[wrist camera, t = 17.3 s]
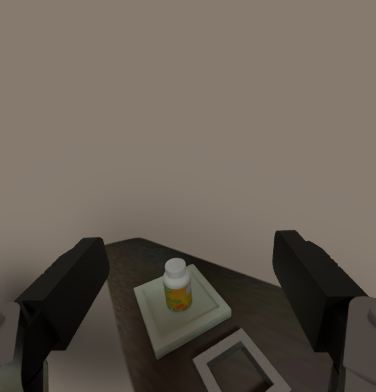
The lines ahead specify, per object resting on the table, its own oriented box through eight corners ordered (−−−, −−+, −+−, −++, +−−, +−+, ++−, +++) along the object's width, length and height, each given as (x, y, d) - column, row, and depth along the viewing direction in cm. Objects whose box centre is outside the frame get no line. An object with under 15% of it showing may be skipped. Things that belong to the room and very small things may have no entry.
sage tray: (193, 270, 51) (193, 263, 50) (231, 316, 38) (231, 309, 38) (135, 295, 45) (133, 288, 44) (156, 360, 32) (155, 352, 31)
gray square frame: (241, 335, 35) (241, 328, 34) (290, 397, 27) (291, 389, 26) (193, 366, 31) (192, 359, 30) (233, 450, 23) (233, 442, 22)
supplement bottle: (161, 310, 40) (155, 271, 36) (173, 289, 44) (168, 253, 41) (186, 318, 38) (182, 277, 34) (196, 296, 42) (193, 258, 39)
